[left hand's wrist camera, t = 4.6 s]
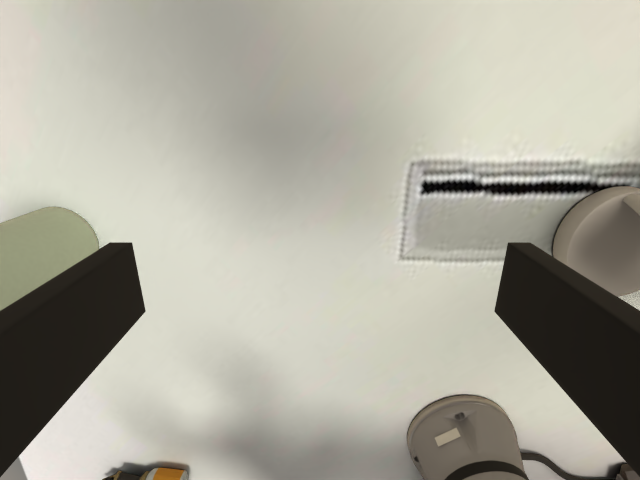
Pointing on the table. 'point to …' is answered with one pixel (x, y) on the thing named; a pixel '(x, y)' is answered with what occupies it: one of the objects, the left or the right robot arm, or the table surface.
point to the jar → (40, 249)
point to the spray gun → (152, 475)
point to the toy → (627, 473)
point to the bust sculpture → (604, 239)
